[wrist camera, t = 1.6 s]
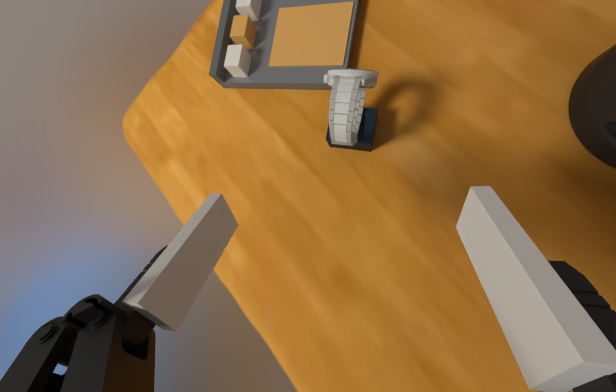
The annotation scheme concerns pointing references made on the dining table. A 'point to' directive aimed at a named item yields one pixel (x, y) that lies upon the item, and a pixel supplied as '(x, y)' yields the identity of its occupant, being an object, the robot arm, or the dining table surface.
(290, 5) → the board
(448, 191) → the dining table surface
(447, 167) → the dining table surface
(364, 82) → the watch
